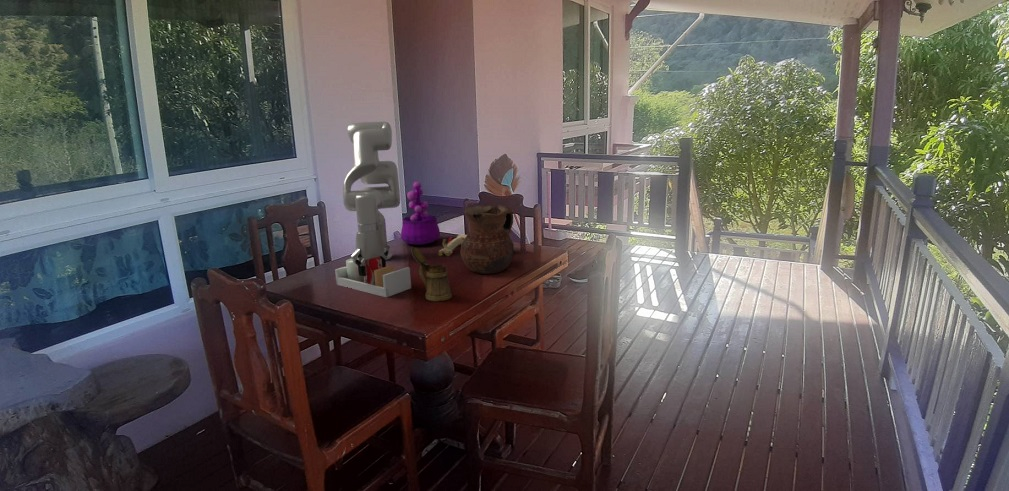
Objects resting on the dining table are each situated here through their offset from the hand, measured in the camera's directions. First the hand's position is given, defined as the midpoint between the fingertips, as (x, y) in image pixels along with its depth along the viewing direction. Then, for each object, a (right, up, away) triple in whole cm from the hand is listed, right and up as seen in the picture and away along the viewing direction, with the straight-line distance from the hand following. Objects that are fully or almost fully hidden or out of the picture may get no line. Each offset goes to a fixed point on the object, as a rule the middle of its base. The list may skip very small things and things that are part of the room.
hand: (372, 272), depth 218 cm
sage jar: (-7, -4, +7) cm, 11 cm away
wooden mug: (+24, -8, -13) cm, 28 cm away
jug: (+42, 0, +19) cm, 46 cm away
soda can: (0, -6, +2) cm, 6 cm away
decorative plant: (+9, +11, +66) cm, 67 cm away
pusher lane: (+1, -5, +1) cm, 6 cm away
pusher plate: (+5, -6, -3) cm, 8 cm away
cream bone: (+26, +8, +52) cm, 59 cm away
